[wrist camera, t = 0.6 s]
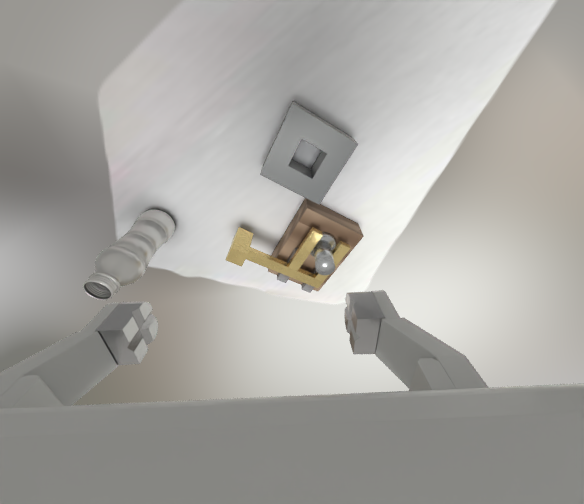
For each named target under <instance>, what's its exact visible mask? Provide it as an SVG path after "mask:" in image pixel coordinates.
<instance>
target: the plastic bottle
mask: <svg viewBox="0 0 584 504" xmlns="http://www.w3.org/2000/svg"><path fill="white" fill-rule="evenodd" d="M174 231H175V224H174V221H173V219H172V218H171V217H170V216H169V215H168V214H167V213H165V212H163V211H160V210H154V209H152V210H148V211H145V212H144V213H142V214H140V215H139V217H138V218H137V219H136V221H135V223H134V225H133V226H132V228H131V229H130V230H129V231H128V232H127V233H126V234H125V235H124V236H123V237H121V238H120V239H119V240H118V241H117V242H115V243H114V244H112V245H110V246H109V247H107V248H106V249H104V250H103V251H102V252H101V253H99V254H98V256H97V258H96V261H95V273H93V274H92V275H91V276H90V277H89V279H88V280H87V281H86V282H85V283H84V284H83V290H84V291H85V292H86V293H87V294H88V295H89V296H91V297H93V298H95V299H99V300H108V299H110V298H111V297H112V296H113V295H114V294H115V293H116V292H118V290H119V289H120V287H121V286H125V285H129V284H132V283H134V282H136V281H137V280H139V279H140V278H141V277H142V275H143V274H144V272H145V270H146V268H147V266H148V264H149V262H150V260H151V258H152V257H153V255H154V254H155V252H156V251H157V250H158V249H159V248H160V247H161V246H162V245H163V244H164V243H165V242H167V241H168V240H169V239H170V238H171V237H172V236H173V234H174Z"/></svg>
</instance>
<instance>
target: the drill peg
mask: <svg viewBox="0 0 584 504" xmlns="http://www.w3.org/2000/svg"><path fill="white" fill-rule="evenodd" d="M322 234H323V236H322V237H321V239H320V240H319V241H318V243H317V244H316V246H315V247H314V248H313V250H312V251H311V253H310V254H311V255H312V256H313V257H314V258H315V267H316V271H317V273H319V274H320V275H329V274H331V273H333V272H334V270H335V263H334V259H333V254H332V250H333V249H334V248H335V247H336V242H335V239H334V237H333V236H332V235H331V234H329V233H327V232H322Z"/></svg>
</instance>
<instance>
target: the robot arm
mask: <svg viewBox="0 0 584 504" xmlns="http://www.w3.org/2000/svg"><path fill="white" fill-rule="evenodd" d="M346 304H347V307H346V309H345V325H346V329H347V332H348V333H349V334H350V344H351V347H352V350H353V354H375V355H376V356H377V357H378V358H379V359H380V360H381V361H382V362H383V363H384V364H385V365H386V366H387V367H388V368H389V369H390V370H391V371H392V372H393V373H394V374H395V375H396V376H397V377H398V378H399V379H400V380H401V381H402V382H403V383H404V384H405V385H406V386H407V387H408V388H409V391H399V392H375V393H351V394H329V395H308V396H307V395H305V396H283V397H259V398H237V399H236V398H235V399H213V400H191V401H190V400H189V401H165V402H143V403H119V404H96V405H73V404H74V403H75V402H76V401H77V400H78V399H80V398H81V397H82V396H83V395H84V394H86V393H87V392H88V391H89V390H90V389H92V388H93V387H94V386H95V385H96V384H98V383H99V382H100V381H101V380H102V379H103V378H104V377H106V376H107V375H108V374H109V373H111V372H112V371H113V370H114V369H115V368H116V367H118V365H127V364H140V362H141V361H142V359H143V357H144V356H145V354H146V352H147V350H148V347H147V345H148V344H149V343H150V342H152V341H153V340H154V339H155V337H156V335H157V331H158V321H157V319H156V317H155V316H153V315H152V314H151V312H152V310H153V309H152V307H151V305H150V303H148V302H122V303H121V302H119V303H109V304H107V305H105V307H103V309H102V310H101V311H100V312H99V313H98V314H97V315H96V316H95V317H94V318H93V319H92V320H91V321H90V322H89V323H88V324H87V325H86V326H85V327H84V328H83V329H82V330H81V331H80V332H75V333H74V334H72V335H70V336H68V337H66V338H64V339H62V340H61V341H59V342H57V343H55V344H53V345H51V346H49V347H48V348H46V349H44V350H42V351H41V352H38V353H37V354H35V355H33V356H31V357H29V358H27V359H25V360H24V361H22V362H20V363H18V364H16V365H14V366H12V367H11V368H9V369H7V370H5V371H3V372H1V373H0V504H584V383H583V384H560V385H537V386H517V387H516V386H515V387H495V388H494V387H492V388H489V387H488V386H487V385H486V383H485V382H484V381H483V379H482V378H481V377H480V375H479V374H478V372H477V371H476V370H475V369H474V367H473V366H472V364H471V363H470V362H469V360H468V359H467V358H466V356H465V355H463V354H461V353H460V352H458V351H456V350H455V349H453V348H452V347H450V346H448V345H447V344H445V343H444V342H442V341H441V340H439V339H437V338H436V337H434V336H433V335H431V334H429V333H428V332H426V331H424V330H423V329H421V328H420V327H418V326H416V325H415V324H413V323H412V322H410V321H408V320H407V319H405V318H400V317H399V315H398V313H397V311H396V310H395V308H394V306H393V304H392V303H391V301H390V299H389V297H388V296H387V294H386V292H385V291H383V290H381V291H371V292H352V293H347V294H346ZM71 405H73V406H71Z"/></svg>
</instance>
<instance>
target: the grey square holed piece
mask: <svg viewBox="0 0 584 504" xmlns="http://www.w3.org/2000/svg"><path fill="white" fill-rule="evenodd" d="M302 139H303V140H305V141H306V142H308V143H310V144H311V145H313V146H315V147H317V148H318V149H320V150H322V151H321V153H320V155H319V156H318V158H317V160H316V162H315V163H314V165H313V167H312V169H311V170H310V169H309V168H307V167H305V166H303V165H301V164H299V163H298V162H296V161H294V160H292V157H293V155H294V153H295V151H296V149H297V147H298V145H299V144H300V142H301V140H302ZM357 145H358V143H357V142H356V141H355V140H354V139H353V138H352V137H350V136H349V135H347V134H346V133H344V132H342V131H341V130H339V129H338V128H336V127H334V126H333V125H331V124H330V123H328V122H326V121H325V120H323V119H321V118H320V117H318V116H317V115H315V114H313V113H312V112H310V111H309V110H307V109H305V108H304V107H302V106H301V105H299V104H297V103H296V102H294V101H292V104H291V106H290V108H289V110H288V112H287V114H286V117H285V119H284V121H283V123H282V125H281V128H280V130H279V132H278V134H277V136H276V139H275V141H274V143H273V145H272V147H271V149H270V152H269V154H268V156H267V158H266V160H265V163H264V165H263V167H262V170H261V173H260V175H262V176H264V177H266V178H268V179H270V180H272V181H274V182H276V183H278V184H280V185H281V186H283V187H285V188H287V189H289V190H291V191H293V192H295V193H297V194H299V195H301V196H303V197H305V198H307V199H309V200H311V201H313V202H315V203H317V204H320V203H321V201H322V200H323V198H324V197H325V195H326V193H327V192H328V190H329V189H330V187H331V186H332V184H333V183H334V181H335V179H336V178H337V176H338V175H339V173H340V172H341V170H342V169H343V167H344V165H345V164H346V162H347V161H348V159H349V158H350V156H351V155H352V153H353V151H354V150H355V148H356V147H357Z"/></svg>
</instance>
